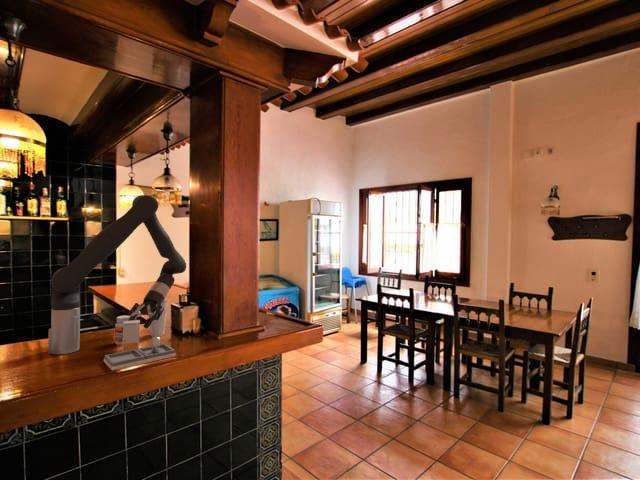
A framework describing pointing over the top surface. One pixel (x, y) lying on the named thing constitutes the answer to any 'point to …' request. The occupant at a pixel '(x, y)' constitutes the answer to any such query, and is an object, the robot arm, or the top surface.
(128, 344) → the skincare box
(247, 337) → the top surface
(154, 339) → the board
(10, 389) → the top surface
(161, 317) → the cup
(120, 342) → the pill bottle
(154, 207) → the robot arm
